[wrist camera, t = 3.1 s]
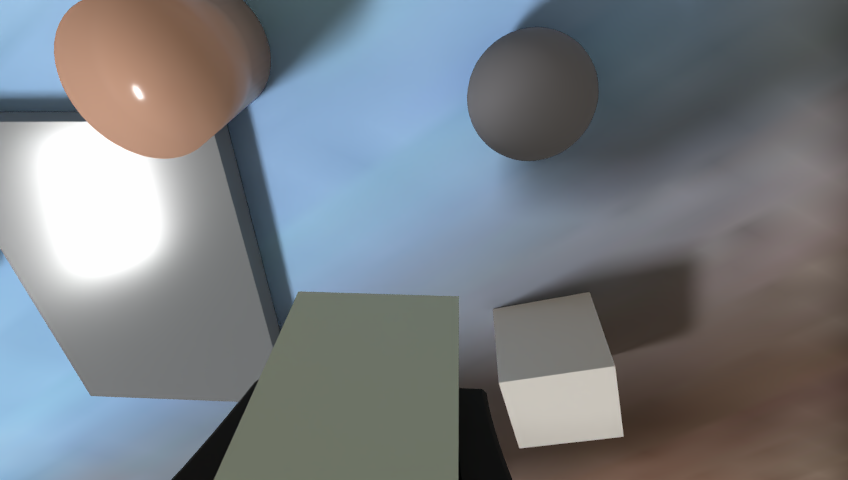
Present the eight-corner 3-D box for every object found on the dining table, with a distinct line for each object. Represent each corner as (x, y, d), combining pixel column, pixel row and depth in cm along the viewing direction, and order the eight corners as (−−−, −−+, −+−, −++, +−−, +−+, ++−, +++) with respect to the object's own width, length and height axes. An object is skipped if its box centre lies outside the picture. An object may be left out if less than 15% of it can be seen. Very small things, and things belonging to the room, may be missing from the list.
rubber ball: (573, 134, 16) (599, 182, 13) (465, 134, 16) (466, 181, 13) (592, 15, 14) (627, 41, 11) (468, 17, 14) (469, 43, 11)
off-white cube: (598, 357, 22) (623, 436, 18) (510, 370, 23) (519, 448, 19) (589, 290, 20) (615, 366, 16) (492, 308, 21) (498, 382, 17)
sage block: (455, 404, 14) (452, 672, 9) (319, 398, 14) (241, 655, 9) (458, 296, 12) (458, 567, 7) (298, 291, 12) (182, 549, 7)
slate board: (294, 386, 24) (288, 403, 23) (103, 380, 25) (90, 396, 24) (223, 111, 16) (210, 121, 16) (-51, 112, 17) (-77, 121, 16)
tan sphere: (281, 110, 16) (235, 158, 13) (167, 110, 17) (93, 158, 13) (255, -25, 14) (192, -8, 11) (125, -21, 14) (23, -5, 11)
